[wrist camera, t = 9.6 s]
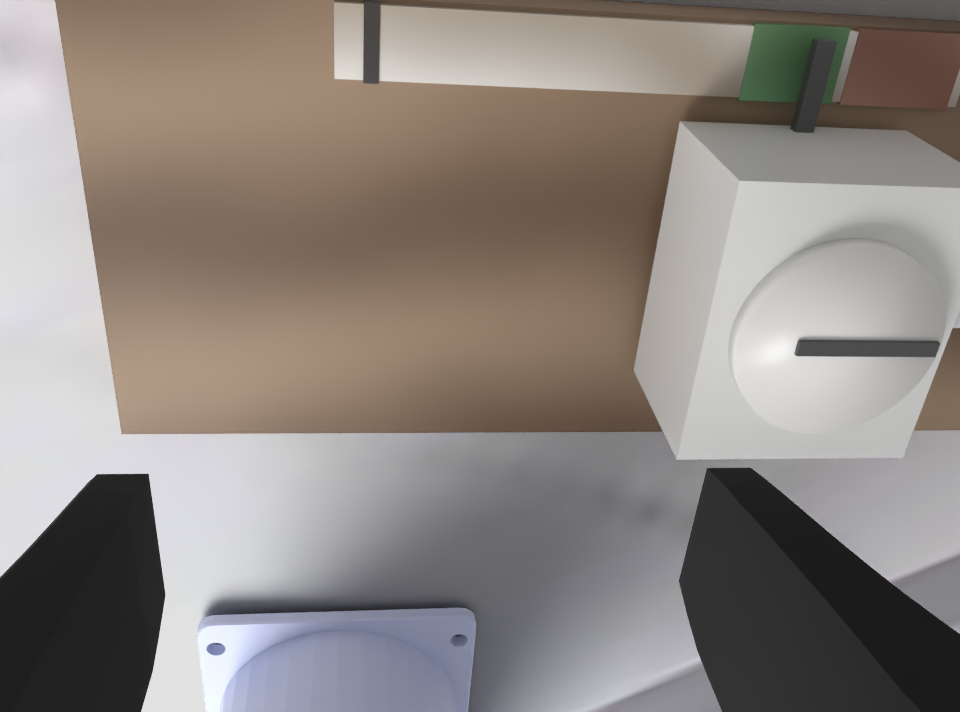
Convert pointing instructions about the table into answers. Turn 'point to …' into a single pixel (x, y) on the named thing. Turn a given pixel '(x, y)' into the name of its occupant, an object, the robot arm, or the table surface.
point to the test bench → (428, 196)
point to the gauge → (800, 286)
